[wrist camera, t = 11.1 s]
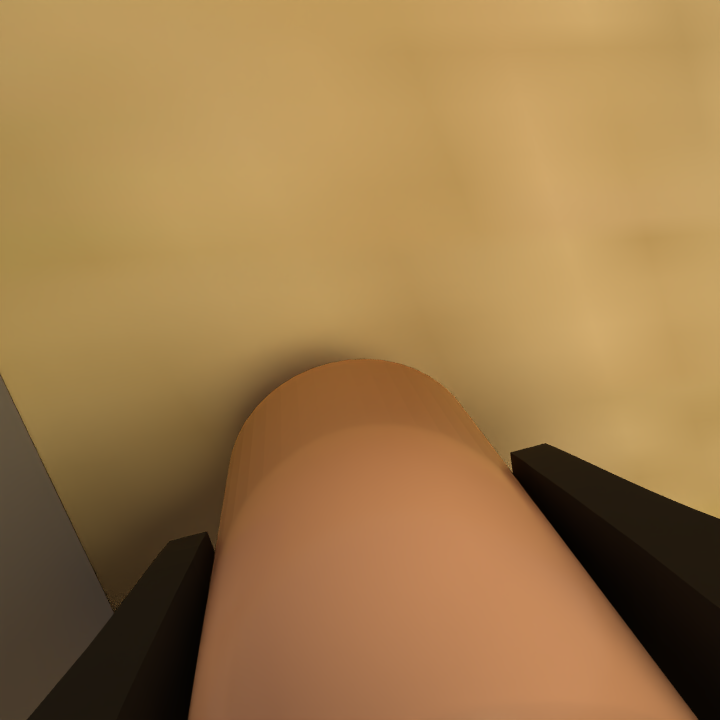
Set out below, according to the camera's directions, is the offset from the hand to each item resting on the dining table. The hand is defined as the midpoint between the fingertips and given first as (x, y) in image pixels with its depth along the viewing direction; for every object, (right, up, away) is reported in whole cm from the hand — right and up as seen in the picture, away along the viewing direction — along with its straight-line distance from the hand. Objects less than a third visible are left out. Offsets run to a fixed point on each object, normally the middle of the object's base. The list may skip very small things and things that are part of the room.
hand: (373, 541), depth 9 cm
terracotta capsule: (0, +1, +2) cm, 2 cm away
